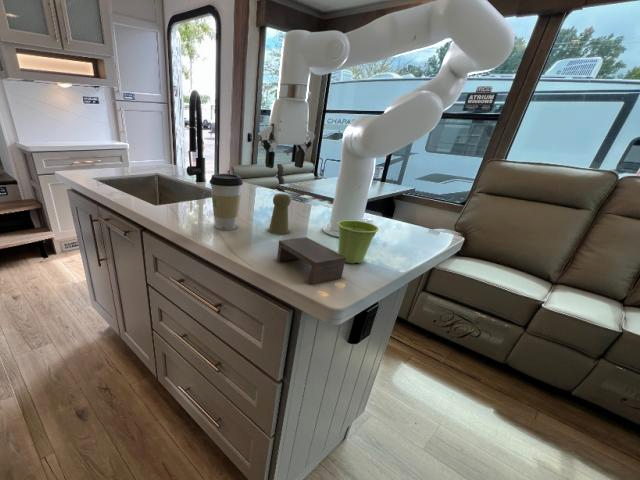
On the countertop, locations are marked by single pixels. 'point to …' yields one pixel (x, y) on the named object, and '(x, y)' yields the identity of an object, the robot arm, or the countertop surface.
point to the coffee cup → (225, 199)
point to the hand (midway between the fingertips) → (284, 167)
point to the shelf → (313, 258)
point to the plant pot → (355, 239)
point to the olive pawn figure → (280, 214)
